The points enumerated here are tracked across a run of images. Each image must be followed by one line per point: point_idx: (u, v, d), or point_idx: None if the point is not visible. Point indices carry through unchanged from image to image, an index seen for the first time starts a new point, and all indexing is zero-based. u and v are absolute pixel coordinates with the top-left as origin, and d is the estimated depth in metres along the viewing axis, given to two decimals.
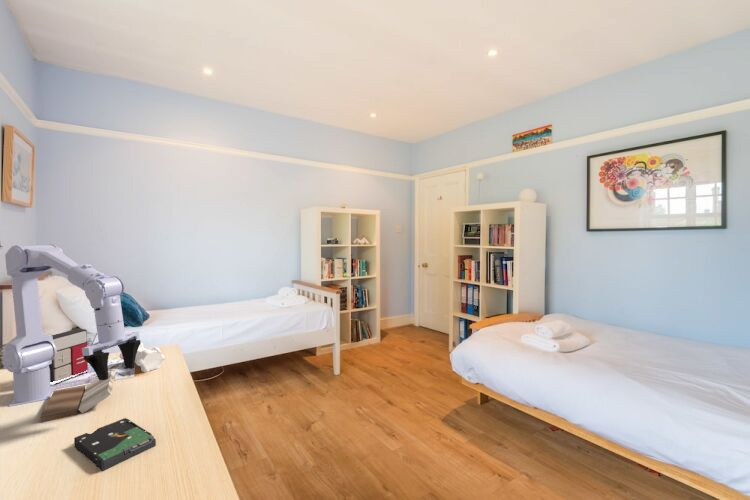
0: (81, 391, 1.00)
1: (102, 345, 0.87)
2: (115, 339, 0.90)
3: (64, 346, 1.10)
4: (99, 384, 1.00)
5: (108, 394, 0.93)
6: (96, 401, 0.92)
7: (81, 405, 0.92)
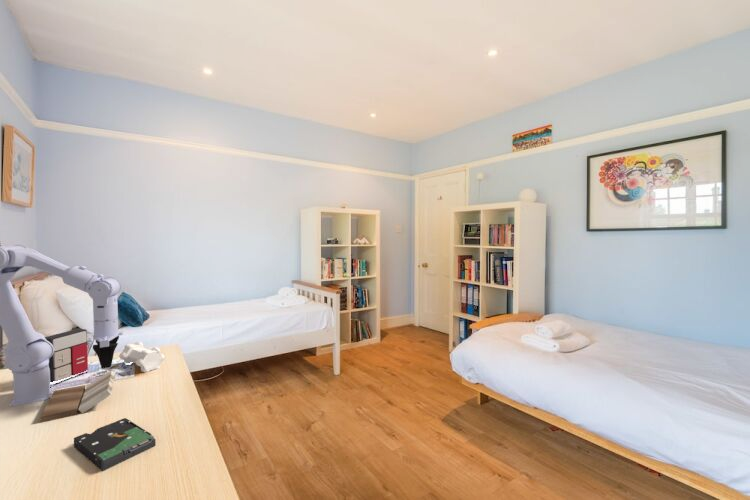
0: (81, 391, 1.00)
1: (112, 338, 1.00)
2: (116, 333, 1.03)
3: (64, 346, 1.09)
4: (99, 384, 1.00)
5: (108, 394, 0.93)
6: (96, 401, 0.92)
7: (81, 405, 0.92)
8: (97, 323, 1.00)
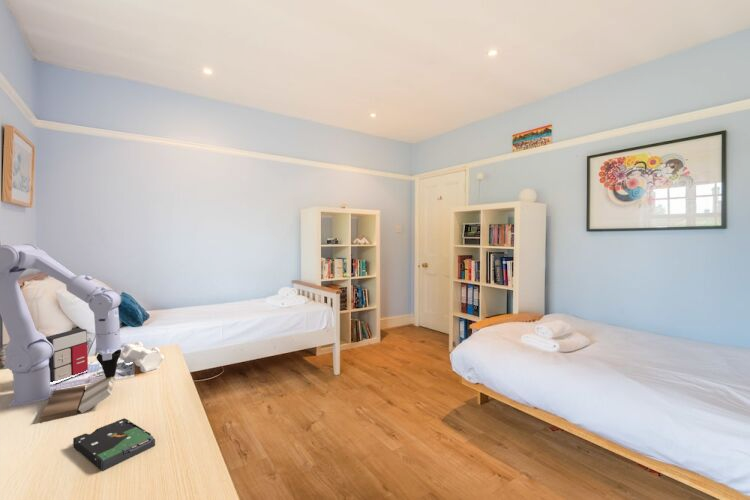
0: (81, 391, 1.00)
1: (115, 350, 1.00)
2: (118, 345, 1.03)
3: (64, 346, 1.09)
4: (100, 384, 1.00)
5: (108, 394, 0.93)
6: (96, 401, 0.92)
7: (81, 405, 0.92)
8: (99, 336, 1.00)
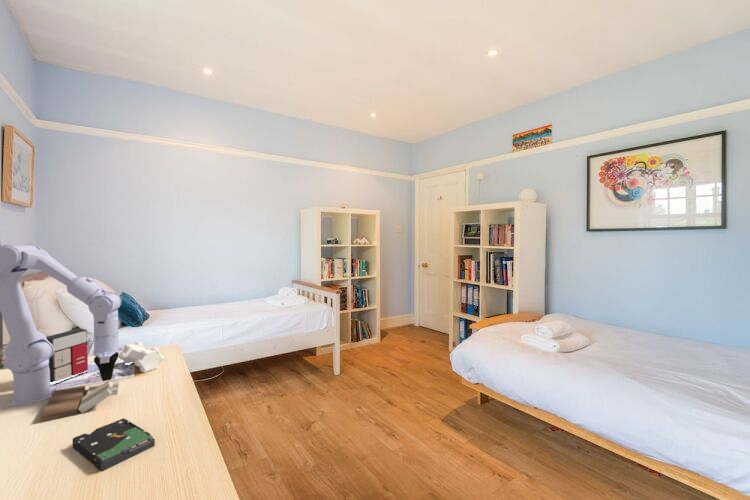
0: (81, 391, 1.00)
1: (112, 353, 1.00)
2: (116, 348, 1.03)
3: (64, 346, 1.09)
4: None
5: (108, 394, 0.93)
6: (96, 401, 0.92)
7: (81, 405, 0.92)
8: (97, 339, 1.00)
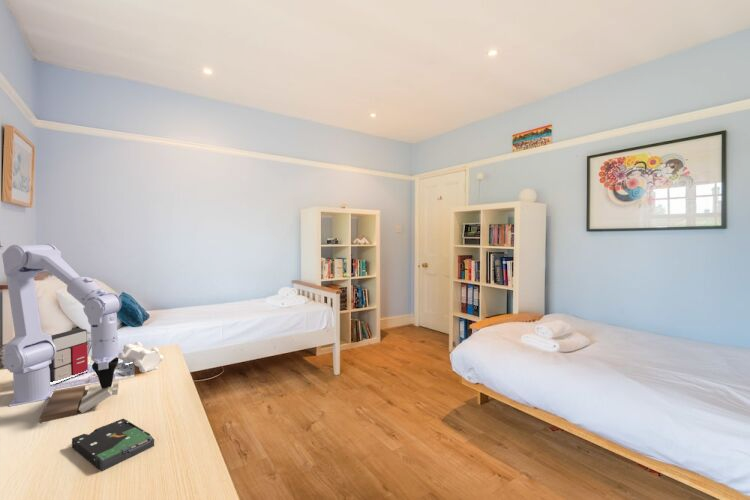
0: (81, 391, 1.00)
1: (112, 359, 0.93)
2: (116, 353, 0.96)
3: (64, 346, 1.10)
4: None
5: (108, 394, 0.93)
6: (96, 401, 0.92)
7: (81, 405, 0.92)
8: (95, 343, 0.93)
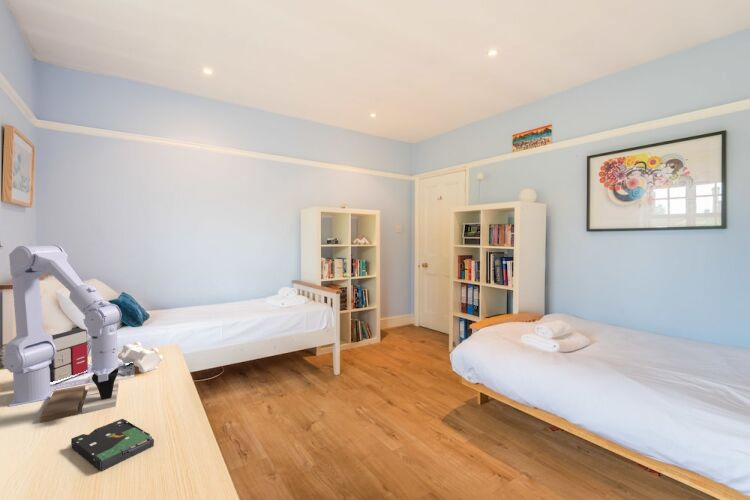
0: (81, 391, 1.00)
1: (111, 370, 0.93)
2: (116, 364, 0.96)
3: (64, 346, 1.09)
4: None
5: (113, 405, 0.94)
6: (100, 407, 0.93)
7: (85, 404, 0.92)
8: (95, 355, 0.93)
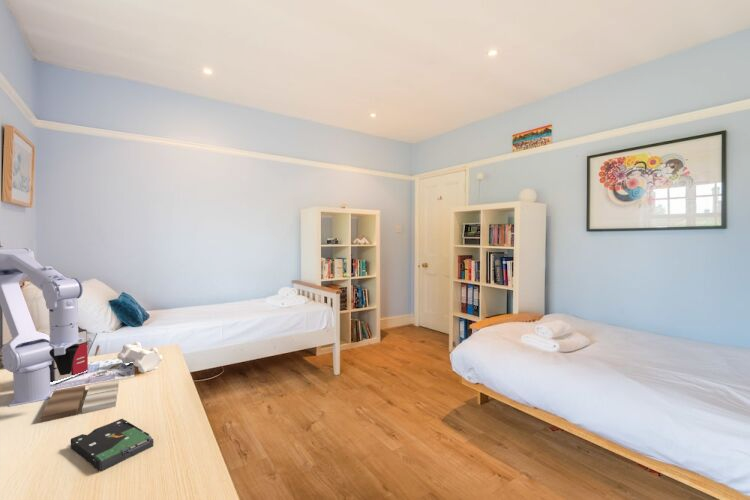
0: (81, 391, 1.00)
1: (70, 344, 0.91)
2: (76, 339, 0.94)
3: None
4: (105, 389, 1.01)
5: (113, 405, 0.94)
6: (100, 407, 0.93)
7: (85, 404, 0.92)
8: (53, 328, 0.90)
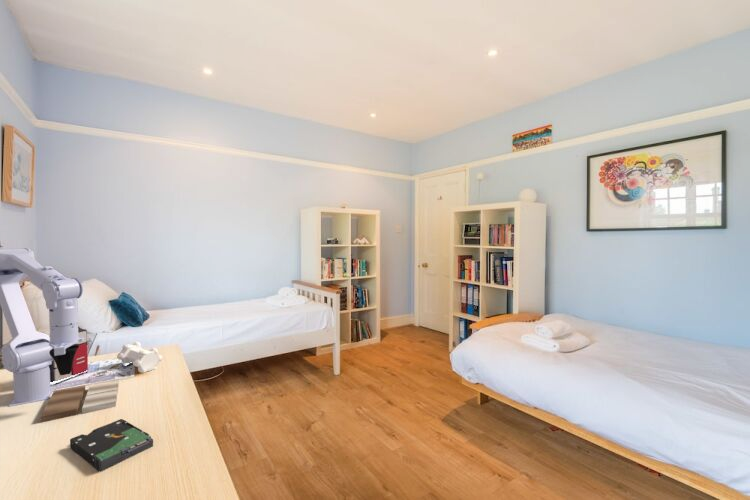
0: (81, 391, 1.00)
1: (70, 344, 0.91)
2: (76, 339, 0.94)
3: None
4: (105, 389, 1.01)
5: (113, 405, 0.94)
6: (100, 407, 0.93)
7: (85, 404, 0.92)
8: (53, 328, 0.90)
